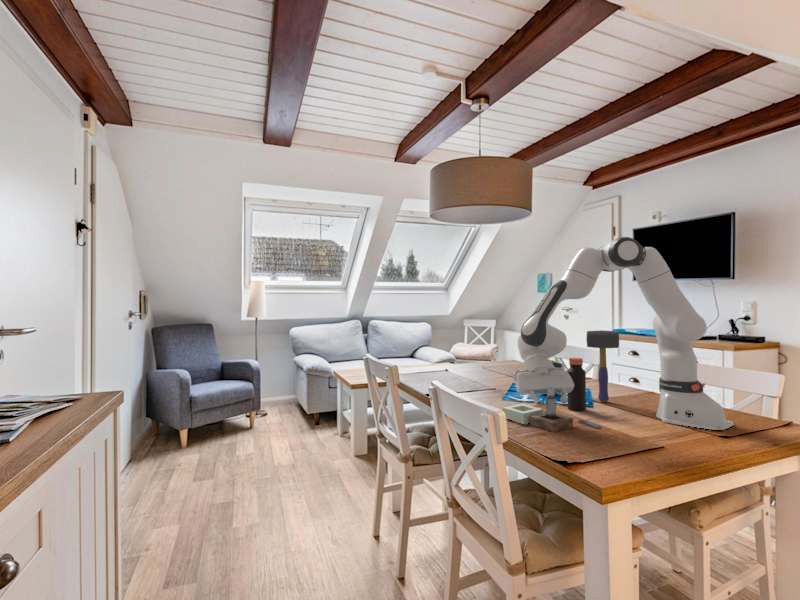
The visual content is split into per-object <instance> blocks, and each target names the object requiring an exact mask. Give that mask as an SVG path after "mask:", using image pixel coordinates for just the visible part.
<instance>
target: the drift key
mask: <svg viewBox="0 0 800 600" xmlns="http://www.w3.org/2000/svg"><path fill="white" fill-rule="evenodd" d="M577 423H578V424H580V425H583V426H586V427H590V428H592V429H595V430H598V429H599V430H600V429H602V426H601V425H600V424H596V423H593V422H591V421H587V420H584V419H580V420H577Z"/></svg>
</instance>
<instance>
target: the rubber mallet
mask: <svg viewBox="0 0 800 600" xmlns="http://www.w3.org/2000/svg"><path fill="white" fill-rule="evenodd" d="M586 347H587V348H593V349H599V367H598V372H597V373H598V374H597V376H598V377H597V378H598V388H599V389H598V395H597V396H598V397H597V398H598V400H599V402H601V403H608V401H609V399H610V398H609V393H608V392H609V389H608V384H609V383H608V382H609V371H608V367H607V349H619V348H620V333H619V331H615V330H587V331H586Z"/></svg>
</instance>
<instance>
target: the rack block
mask: <svg viewBox="0 0 800 600" xmlns="http://www.w3.org/2000/svg"><path fill="white" fill-rule="evenodd" d="M503 411H504V412H505V414H506V416H507V419H506V420H508V419H510V420H513V421H516V422H519V423H521V424H520V425H522V424H526V425H529V424H528V423H530V416H533V415H537V414H541V413H544V409H543V408H540V407H536V406H533V405H532V406H531V405H528V404H525V403H519V404H514V405H508V406H504V407H502V412H503ZM510 420H508V421H510ZM513 421H512V422H513ZM516 422H515V423H516ZM519 423H518V424H519Z"/></svg>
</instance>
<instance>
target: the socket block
mask: <svg viewBox="0 0 800 600" xmlns="http://www.w3.org/2000/svg"><path fill="white" fill-rule="evenodd" d="M529 425H530V426H533V427H536V428H539V427H540V429H542V428H543V430H545V429H547V430H546V431H549V430H550V431H549V432H552V433H555V431H556V432H560V431H562V430H567V429H570V428H573V427H574V418H573V417H571V416H566V415H562V414H560V413H556V419H555V420H550V419H547V418H546V412H543V413H541V414H537V415H533V416H530V424H529Z"/></svg>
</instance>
